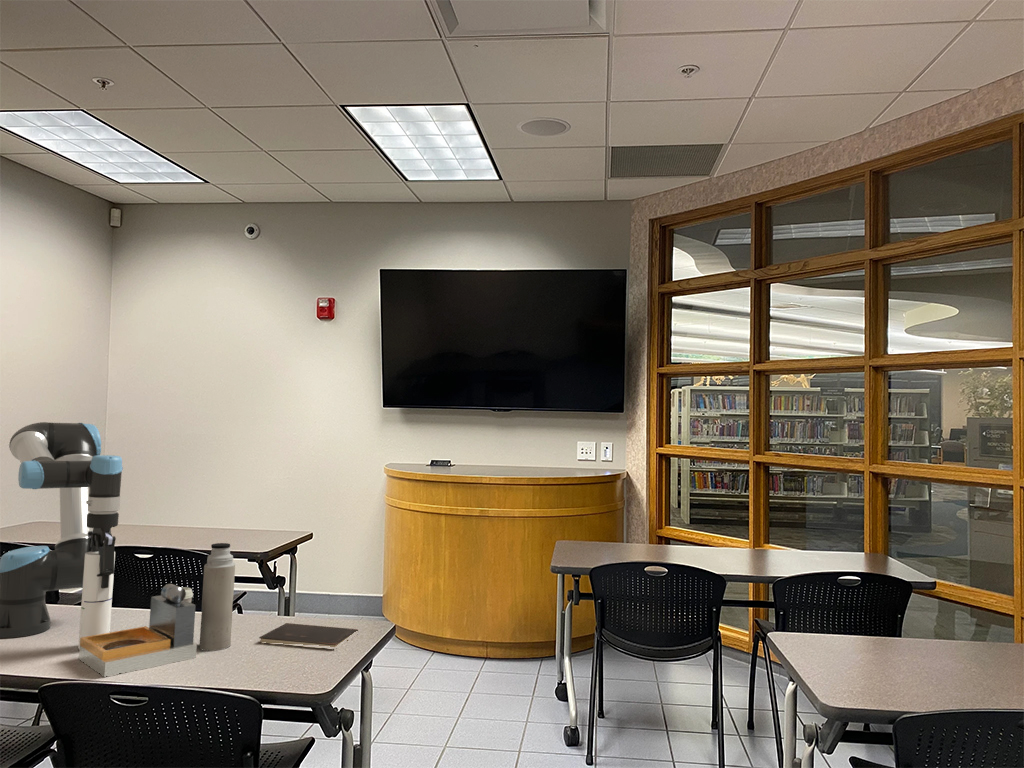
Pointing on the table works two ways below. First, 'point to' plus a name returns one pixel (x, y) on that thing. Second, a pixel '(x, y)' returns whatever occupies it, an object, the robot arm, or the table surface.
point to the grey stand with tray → (146, 638)
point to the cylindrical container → (94, 600)
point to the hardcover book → (307, 635)
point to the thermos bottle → (217, 599)
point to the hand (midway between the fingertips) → (97, 597)
